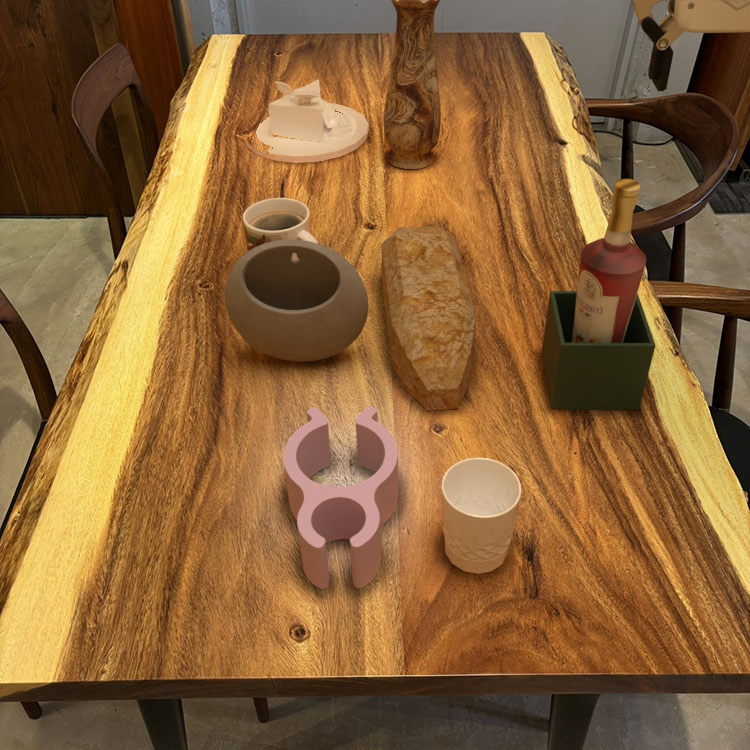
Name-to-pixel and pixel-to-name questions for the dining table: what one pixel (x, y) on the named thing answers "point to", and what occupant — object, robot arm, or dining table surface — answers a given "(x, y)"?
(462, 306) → the bread
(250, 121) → the dining table surface
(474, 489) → the white cup
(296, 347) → the planter
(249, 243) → the mug
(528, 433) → the dining table surface
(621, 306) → the liquor
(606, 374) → the green square box
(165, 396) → the dining table surface
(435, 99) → the vase
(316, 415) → the clip
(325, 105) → the dish
